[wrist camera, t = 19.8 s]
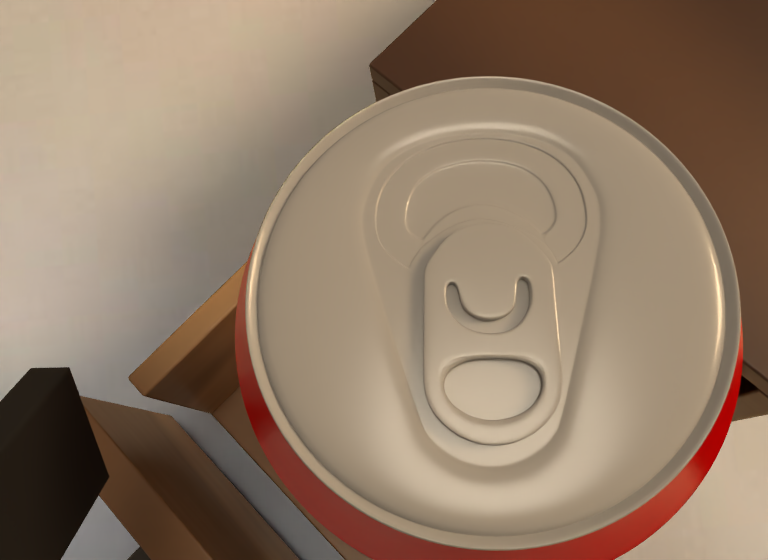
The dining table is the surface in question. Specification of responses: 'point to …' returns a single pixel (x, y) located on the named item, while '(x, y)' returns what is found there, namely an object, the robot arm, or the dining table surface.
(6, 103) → the dining table surface
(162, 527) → the drawer
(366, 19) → the dining table surface
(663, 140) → the cabinet
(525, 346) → the soda can
